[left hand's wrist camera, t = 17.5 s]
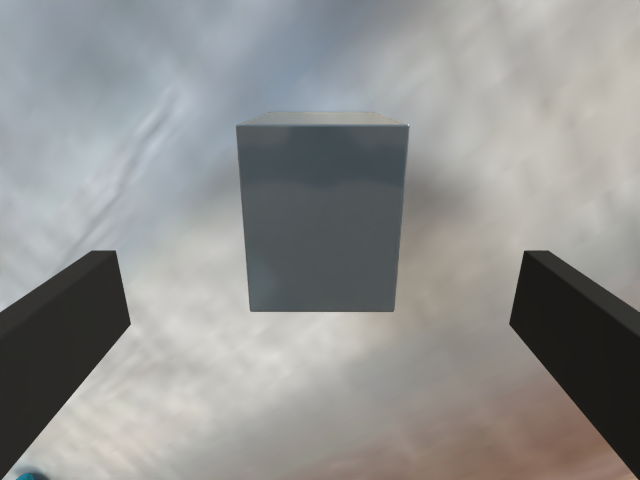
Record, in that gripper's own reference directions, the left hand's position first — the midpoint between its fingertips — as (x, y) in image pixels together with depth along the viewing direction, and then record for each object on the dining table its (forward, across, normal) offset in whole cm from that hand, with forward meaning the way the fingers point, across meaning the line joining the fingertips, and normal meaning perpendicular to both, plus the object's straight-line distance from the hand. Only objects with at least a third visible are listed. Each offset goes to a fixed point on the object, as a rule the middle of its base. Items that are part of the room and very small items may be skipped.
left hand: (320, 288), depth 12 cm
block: (+17, 0, 0) cm, 17 cm away
